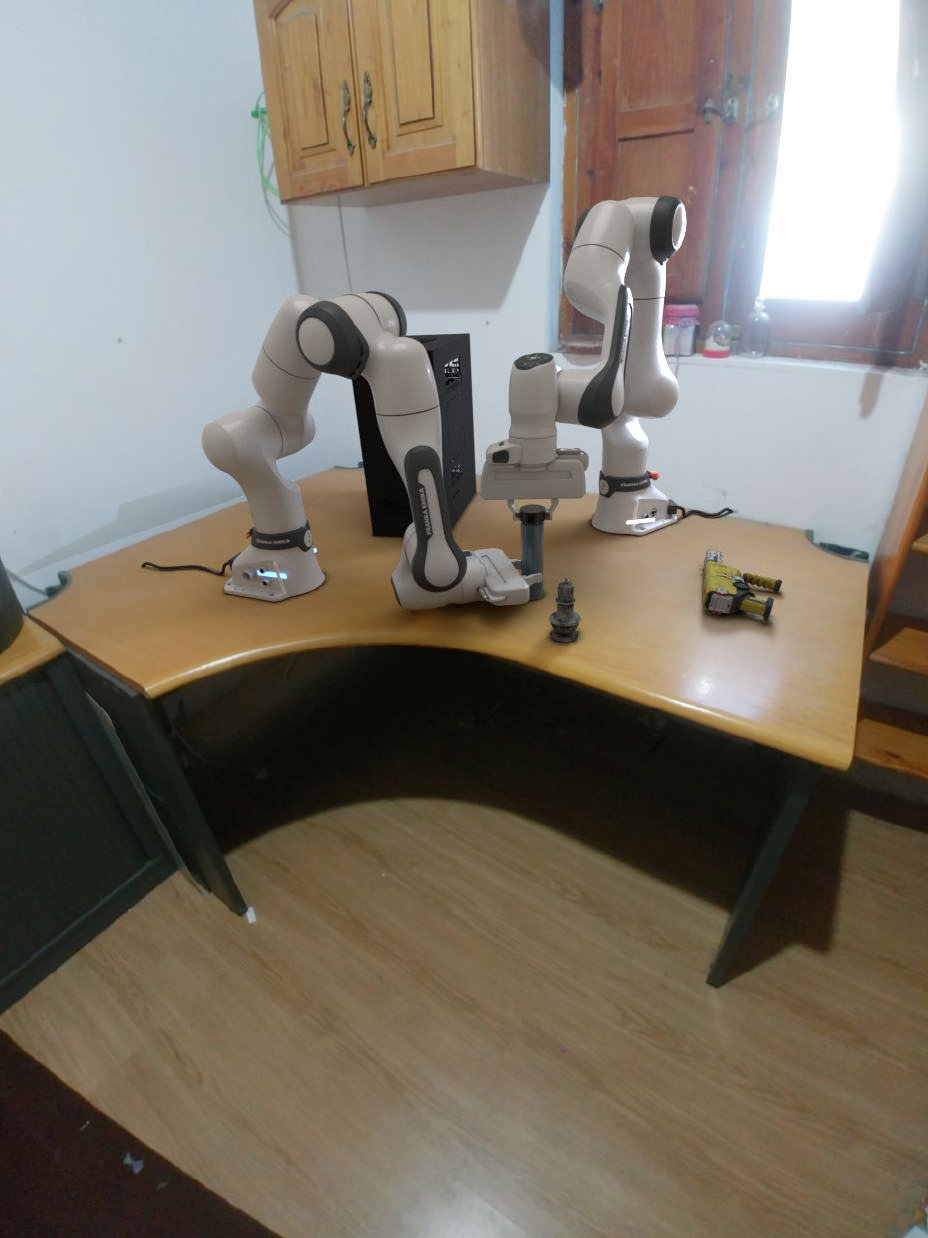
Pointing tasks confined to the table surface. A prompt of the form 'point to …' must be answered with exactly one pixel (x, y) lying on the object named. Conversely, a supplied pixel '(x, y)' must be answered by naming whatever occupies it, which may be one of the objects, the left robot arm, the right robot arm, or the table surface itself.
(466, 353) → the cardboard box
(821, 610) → the table surface
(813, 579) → the table surface
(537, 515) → the lid
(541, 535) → the grey cylindrical piece
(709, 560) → the toy gun
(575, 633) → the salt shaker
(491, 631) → the table surface
